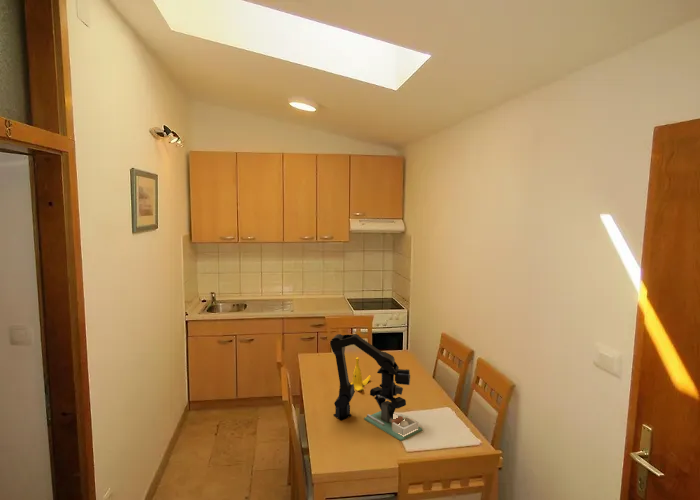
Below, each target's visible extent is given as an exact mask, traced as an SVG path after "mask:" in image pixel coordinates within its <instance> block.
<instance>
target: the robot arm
mask: <svg viewBox="0 0 700 500" xmlns="http://www.w3.org/2000/svg"><path fill="white" fill-rule="evenodd" d="M349 346H355V347H357V348H358V349H360V351H362V352H364V353H365V354H367V355H368V356H370V357H371V358H372V359H373V360H374V361H376V363H377V365H378V366H380V368H379V369H378V370H377V372H376V373H377V374H381V383H379V386H375V387H373V388H370V391H369V396H372V397H373V399H374V400H375V402H376V403H377V405H378V407H379V409H380V410H381V403H383V402H385V401H389V402H391V404H388V409H389V414H390V417H392V416H393V414H395V411H396V409H400V408H403V407H405V406H406V405H407V400H406V399H405V398H403V397H401V396H402V394H403V391H404V388H403V386H400V385H405V386H410V384H411V372H410V369H401V368H400V367H399V365H398V364H397V363H396V360H395V357H394V356H393V355H392V354H390V353H388V352H386V351H383V350H382V351H381V350H380V349H378V348H376V347H375V346H374V345H373V344H371V343H369V342H368V341H367V340H365V339H364V338H362V337H361V336H360V335H359V334H357V333H354V334H338V333H337V334H335V336H333V338H332V339H331V340H330V348H331V351H332V352H333V354H334V356H335V360H336V369H337V374H338V380H339V390H338V396H337V397H336V399H335V401H334V403H333V404H334V406H335V407H334V408H335V413H333V417H335V418H336V419H338V420H340V421H343V420H346V419H348V418H351V417H352V414H351V405H350V403H351V400H352V399H353V397H354V394H355V392H356V390H355V389H354V384H350V383H351V382H350V381H349V380H350V379H349V373H348V368H347V366H348V365H347V360H346V355H345V353H346V352H345V351H346V347H349ZM397 395H400V396H397ZM395 396H397V397H395Z"/></svg>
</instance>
